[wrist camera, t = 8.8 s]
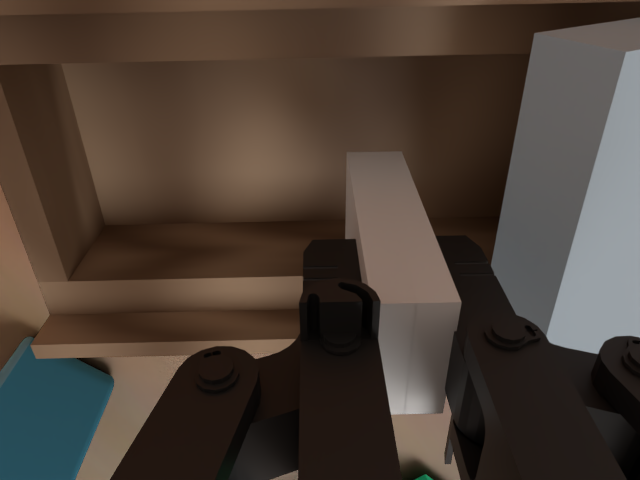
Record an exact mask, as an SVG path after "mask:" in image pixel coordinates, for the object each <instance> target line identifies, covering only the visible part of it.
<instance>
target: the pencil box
mask: <svg viewBox="0 0 640 480" xmlns="http://www.w3.org/2000/svg"><path fill="white" fill-rule="evenodd" d="M633 18H640V0H0V184H1V186H2V189H3V192H4V194H5V197H6V200H7V202H8V205H9V207H10V210H11V213H12V215H13V218H14V221H15V223H16V226H17V229H18V231H19V234H20V237H21V239H22V242H23V244H24V247H25V250H26V252H27V255H28V258H29V260H30V263H31V266H32V268H33V271H34V274H35V276H36V279H37V281H38V284H39V287H40V289H41V292H42V295H43V297H44V300H45V303H46V305H47V308H48V311H49V313H50V316H49V317H48V319H47V320H46V322H45V323H44V325H43V326H42V328H41V330H40V331H39V333H38V334H37V336H36V337H35V339H34V340H33V342H32V343H31V345H30V346H31V348H32V351H33V353H34V355H35V358H36V359H47V358H90V357H133V356H176V355H194V354H195V353H197V352H199V351H201V350H204V349H207V348H211V347H215V346H233V347H236V348H239V349H242V350H245V351H246V352H248V353H249V354H263V353H278V352H280V351H282V350H284V349H285V348H287V347H288V346H290V345H291V344H292V343H293V342H294V341H295V340H296V339H297V337H298V335H299V334H300V317H299V301H300V298H301V295H302V293H303V252H304V251H305V249H306V248H307V246H308V245H309V244H310V242H311V241H312V240H321V239H345V223H346V166H347V152H391V151H402V154H403V156H404V159H405V161H406V164H407V166H408V169H409V171H410V174H411V176H412V179H413V181H414V184H415V186H416V189H417V191H418V194H419V196H420V199H421V201H422V204H423V207H424V209H425V212H426V214H427V217H428V219H429V222H430V224H431V227H432V229H433V232H434V234H435V236H454V235H466V236H467V237H468V238H470V239H471V240H472V241H474V242H475V243H476V244H477V245H479V246H480V247H481V248H482V250H483V252H484V254H485V256H486V258H487V260H488V264H490V265H491V262H492V257H493V252H494V246H495V241H496V236H497V230H498V225H499V220H500V214H501V209H502V204H503V198H504V193H505V188H506V182H507V177H508V172H509V166H510V161H511V156H512V150H513V145H514V140H515V134H516V129H517V124H518V118H519V113H520V108H521V102H522V97H523V92H524V86H525V81H526V76H527V70H528V65H529V60H530V55H531V49H532V44H533V39H534V33H538V32H545V31H552V30H558V29H565V28H572V27H579V26H585V25H592V24H599V23H606V22H613V21H619V20H626V19H633Z"/></svg>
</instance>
